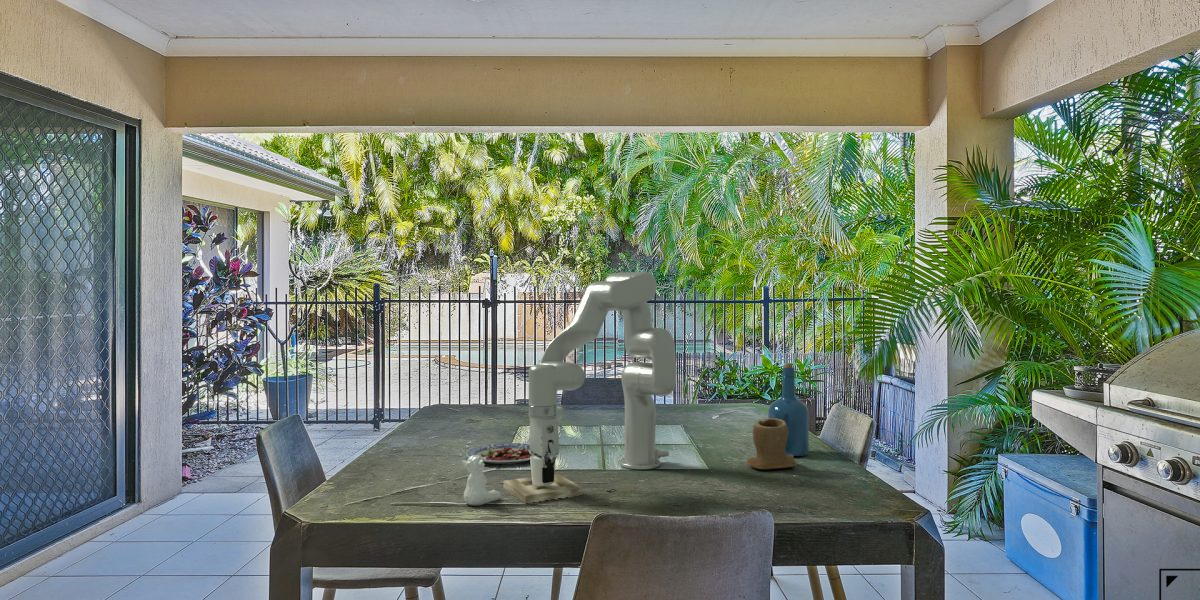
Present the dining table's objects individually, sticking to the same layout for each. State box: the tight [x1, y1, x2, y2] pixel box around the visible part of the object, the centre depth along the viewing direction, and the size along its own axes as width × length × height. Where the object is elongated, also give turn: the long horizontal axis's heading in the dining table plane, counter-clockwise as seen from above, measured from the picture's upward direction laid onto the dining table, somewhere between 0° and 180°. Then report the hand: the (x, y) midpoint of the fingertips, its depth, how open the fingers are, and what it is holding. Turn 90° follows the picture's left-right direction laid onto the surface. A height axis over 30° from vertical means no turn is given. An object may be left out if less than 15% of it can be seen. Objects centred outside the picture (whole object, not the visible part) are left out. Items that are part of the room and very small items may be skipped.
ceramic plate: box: [465, 442, 547, 465], centre depth 219 cm, size 26×26×3 cm
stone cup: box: [746, 417, 798, 470], centre depth 206 cm, size 15×12×15 cm
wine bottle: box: [767, 362, 810, 458], centre depth 226 cm, size 14×13×30 cm
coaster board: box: [502, 473, 584, 505], centre depth 180 cm, size 16×16×2 cm
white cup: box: [529, 453, 556, 486], centre depth 180 cm, size 7×7×7 cm
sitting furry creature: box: [461, 455, 502, 506], centre depth 171 cm, size 10×9×12 cm
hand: (543, 478), depth 181 cm, fingers closed on white cup, 6 cm apart
